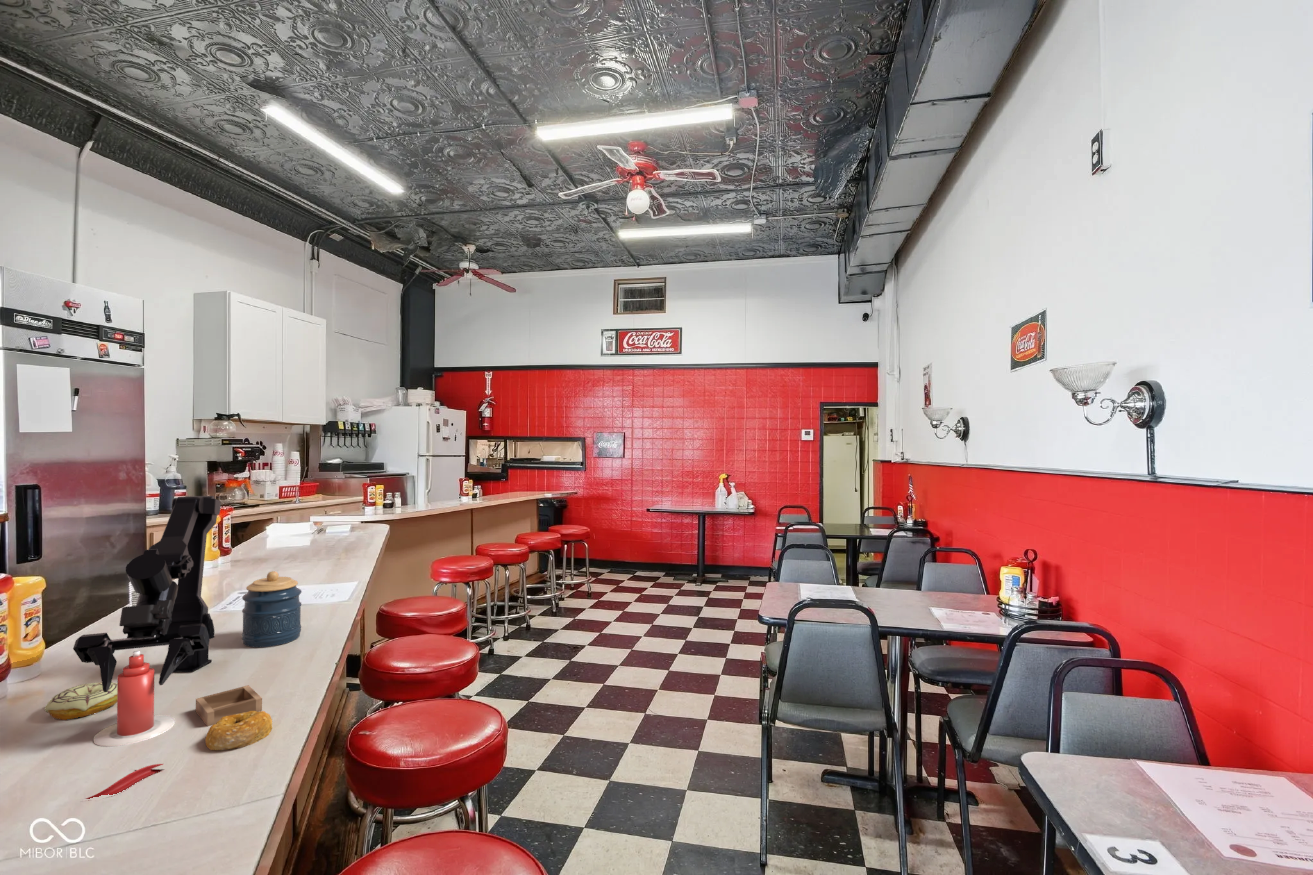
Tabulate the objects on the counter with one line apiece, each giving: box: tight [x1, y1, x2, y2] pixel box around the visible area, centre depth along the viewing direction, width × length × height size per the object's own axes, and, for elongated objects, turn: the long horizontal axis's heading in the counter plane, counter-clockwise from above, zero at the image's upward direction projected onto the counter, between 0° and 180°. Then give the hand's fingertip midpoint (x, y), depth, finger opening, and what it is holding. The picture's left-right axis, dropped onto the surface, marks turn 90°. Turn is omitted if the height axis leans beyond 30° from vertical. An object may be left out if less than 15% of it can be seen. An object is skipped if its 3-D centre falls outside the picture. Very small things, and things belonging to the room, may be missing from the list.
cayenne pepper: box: [85, 763, 165, 799], centre depth 94 cm, size 12×5×2 cm, turn 142°
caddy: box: [195, 685, 263, 727], centre depth 117 cm, size 9×9×3 cm
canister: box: [241, 570, 303, 648], centre depth 158 cm, size 13×13×18 cm
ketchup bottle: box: [116, 650, 155, 736], centre depth 109 cm, size 5×5×14 cm
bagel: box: [204, 710, 273, 751], centre depth 107 cm, size 10×11×5 cm
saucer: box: [93, 714, 176, 747], centre depth 109 cm, size 11×11×1 cm
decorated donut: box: [44, 681, 117, 721], centre depth 118 cm, size 10×11×4 cm
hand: (133, 687), depth 107 cm, fingers open, 7 cm apart
